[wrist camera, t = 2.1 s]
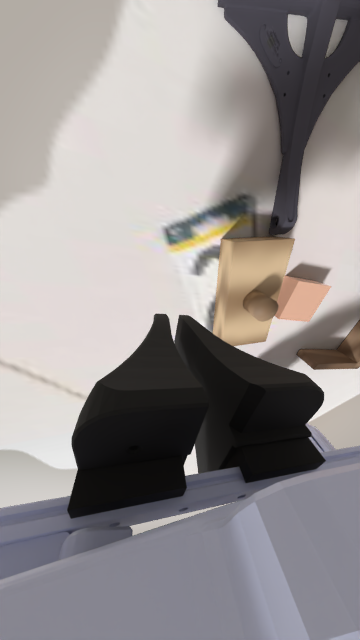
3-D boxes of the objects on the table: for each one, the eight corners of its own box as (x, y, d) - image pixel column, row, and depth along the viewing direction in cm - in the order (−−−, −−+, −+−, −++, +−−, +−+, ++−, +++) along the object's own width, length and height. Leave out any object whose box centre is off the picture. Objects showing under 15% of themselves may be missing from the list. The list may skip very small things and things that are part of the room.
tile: (294, 313, 25) (308, 321, 23) (266, 310, 24) (278, 318, 22) (313, 280, 23) (331, 286, 21) (283, 275, 21) (299, 280, 19)
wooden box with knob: (251, 327, 25) (278, 353, 20) (212, 332, 24) (229, 361, 19) (271, 236, 19) (317, 241, 14) (219, 238, 18) (249, 244, 13)
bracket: (207, 238, 18) (218, 240, 16) (215, -31, 10) (236, -105, 8) (325, 228, 20) (349, 229, 18) (403, -4, 12) (466, -57, 10)
